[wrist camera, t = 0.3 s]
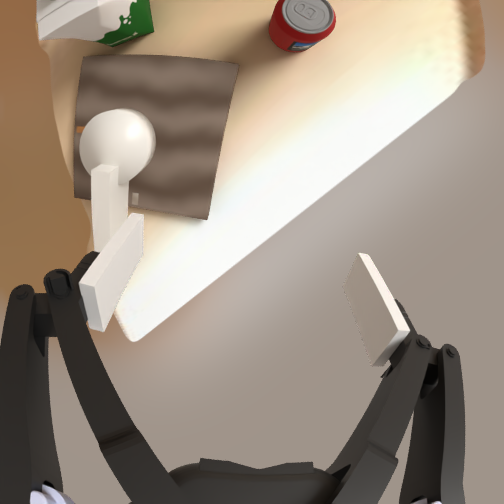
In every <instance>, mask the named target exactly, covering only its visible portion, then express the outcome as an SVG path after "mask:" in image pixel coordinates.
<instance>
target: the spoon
mask: <svg viewBox="0 0 504 504" xmlns="http://www.w3.org/2000/svg"><path fill="white" fill-rule="evenodd" d="M155 147H156V136H155V132H154V129H153V126H152V124H151V123H150V121H149V120H148V119H147V117H146V116H145V115H143V114H142V113H141V112H139V111H137V110H134V109H131V108H119V109H115V110H110V111H106V112H103V113H100V114H98V115H96V116H95V117H94V118H92V119H91V120H90V121H89V122H88V124H87V125H86V126H85V128H84V130H83V132H82V135H81V138H80V145H79V151H80V157H81V161H82V163H83V165H84V167H85V169H86V171H87V172H88V173H89V174H90V175H91V203H92V224H93V238H94V249H95V252H101V251H102V250H103V248H104V247H105V246H106V244H107V243H108V242H109V241H110V239H111V238H112V237H113V235H114V234H115V233H116V232H117V230H118V229H119V228H120V227H121V225H122V224H123V223H124V222H125V220H126V219H127V218H128V190H129V180H131V179H132V178H133V177H135V176H136V175H137V174H138V173H139V172H140V171H142V170H143V169H144V168H145V167H146V166H147V165H148V164H149V162H150V161H151V159H152V157H153V155H154V152H155Z"/></svg>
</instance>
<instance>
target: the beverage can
mask: <svg viewBox="0 0 504 504" xmlns="http://www.w3.org/2000/svg"><path fill="white" fill-rule="evenodd" d="M335 23H336V16H335V12H334V10H333V8H332V6H331V5H330V4H329V2H328V1H327V0H279V1H278V2H277V4H276V6H275V9H274V11H273V15H272V18H271V22H270V26H269V34H270V37H271V39H272V41H273V42H274V43H275V44H276V45H277V46H278V47H279V48H281V49H283V50H286V51H289V52H301V51H305V50H307V49H309V48H310V47H312V46H314V45H315V44H317V43H318V42H320V41H321V40H323V39H324V38H325V37H327V36H328V35H329V34H330V33H331V32H332V31H333V29H334V27H335Z"/></svg>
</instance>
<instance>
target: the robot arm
mask: <svg viewBox="0 0 504 504" xmlns="http://www.w3.org/2000/svg"><path fill="white" fill-rule="evenodd" d="M143 229H144V214H137V213H131V214H130V216H129V217H128V218H127V219H126V220H125V222H124V223H123V224H122V225H121V227H120V228H119V229H118V230H117V232H116V233H115V234H114V235H113V237H112V238H111V239H110V241H109V242H108V243H107V244H106V246H105V247H104V248H103V250H102V251H101V252H95V251H92V252H90V253H88V254H87V255H85V257H84V258H83V259H82V260H81V262H80V263H79V264H78V265H77V267H76V268H75V269H74V271H73V272H72V273H71V274H70V272H69V271H67V270H65V269H55V270H52V271H50V272H49V273H47V274H46V276H45V277H44V286H45V289H46V292H47V293H35V292H34V289H33V288H32V286H30V285H26V284H23V285H19V286H18V287H16V288H14V289H13V290H12V292H11V294H10V298H9V302H8V306H7V311H6V316H5V321H4V326H3V333H2V338H1V345H0V504H75V503H74V502H73V501H72V499H71V498H70V497H68V496H67V495H66V494H64V493H63V484H62V477H61V471H60V466H59V461H58V456H57V451H56V445H55V440H54V433H53V425H52V417H51V408H50V395H49V375H48V339H49V337H58V340H59V344H60V348H61V351H62V354H63V358H64V360H65V364H66V367H67V370H68V373H69V375H70V378H71V381H72V384H73V386H74V389H75V392H76V394H77V397H78V399H79V402H80V404H81V406H82V409H83V411H84V413H85V415H86V418H87V420H88V422H89V424H90V426H91V429H92V431H93V433H94V435H95V437H96V439H97V441H98V443H99V447H100V450H101V452H102V453H103V456H104V458H105V459H106V461H107V463H108V465H109V467H110V468H111V470H112V471H113V473H114V475H115V477H116V478H117V480H118V481H119V483H120V485H121V486H122V488H123V489H124V491H125V492H126V494H127V495H128V497H129V498H130V500H131V501H132V502H130V503H129V504H377V503H378V501H379V500H380V498H381V496H382V494H383V492H384V491H385V489H386V486H387V485H388V483H389V481H390V479H391V477H392V475H393V473H394V471H395V469H396V467H397V464H398V459H397V458H395V455H396V452H397V450H398V448H399V445H400V443H401V441H402V438H403V436H404V434H405V431H406V429H407V426H408V424H409V421H410V419H411V416H412V413H413V410H414V417H413V425H412V433H411V440H410V447H409V453H408V459H407V464H406V469H405V475H404V479H403V484H402V488H401V493H400V499H399V504H465V498H464V491H463V483H462V482H463V472H464V456H465V407H464V391H463V380H462V372H461V364H460V356H459V353H458V351H457V350H456V348H455V347H453V346H452V345H450V344H444V346H442V348H441V349H436V348H433V347H432V346H431V343H430V342H429V341H428V340H427V338H425V337H424V336H422V335H418V334H417V332H416V331H415V329H414V327H413V325H412V323H411V321H410V319H409V318H408V315H407V314H406V312H405V310H404V308H403V306H402V305H401V304H400V303H399V302H398V300H396V299H393V297H392V295H391V293H390V291H389V289H388V288H387V286H386V284H385V283H384V281H383V279H382V277H381V275H380V274H379V272H378V270H377V269H376V267H375V265H374V263H373V262H372V260H371V258H370V257H369V255H367V254H362V253H358V254H357V256H356V259H355V261H354V263H353V265H352V268H351V270H350V272H349V274H348V276H347V279H346V281H345V283H344V285H343V289H344V292H345V294H346V297H347V299H348V302H349V304H350V307H351V310H352V313H353V315H354V318H355V320H356V323H357V325H358V329H359V332H360V334H361V337H362V340H363V343H364V346H365V348H366V352H367V355H368V357H369V360H370V363H371V366H384V364H385V363H386V362H387V361H388V360H390V363H391V365H390V366H389V368H388V369H387V370H386V371H385V372H384V374H383V375H382V376H381V378H383V379H382V381H381V383H380V385H379V387H378V389H377V391H376V393H375V395H374V397H373V399H372V401H371V403H370V404H369V407H368V408H367V410H366V412H365V413H364V415H363V417H362V419H361V420H360V422H359V424H358V426H357V427H356V429H355V430H354V432H353V434H352V435H351V437H350V439H349V440H348V442H347V443H346V445H345V447H344V448H343V450H342V451H341V453H340V454H339V455H338V457H337V459H336V460H335V461H334V463H333V464H332V465H331V466H330V467H329V468H328V469H327V470H326V471H323V470H321V469H317V468H313V462H301V463H285V464H281V465H277V466H273V467H268V468H264V469H255V468H251V467H248V466H244V465H240V464H237V463H233V462H230V461H221V460H212V459H204V458H201V459H200V462H199V463H193V464H188V465H184V466H181V467H178V468H176V469H174V470H172V471H170V472H169V473H168V472H167V471H166V470H165V468H164V467H163V465H162V464H161V463H160V461H159V460H158V459H157V457H156V455H155V454H154V452H153V451H152V449H151V448H150V446H149V445H148V443H147V442H146V440H145V439H144V437H143V436H142V434H141V433H140V431H139V430H138V429H137V428H136V426H135V425H134V423H133V421H132V420H131V418H130V416H129V414H128V413H127V411H126V409H125V407H124V405H123V404H122V402H121V400H120V398H119V396H118V394H117V392H116V390H115V388H114V386H113V384H112V383H111V380H110V378H109V376H108V374H107V372H106V370H105V368H104V366H103V363H102V361H101V359H100V357H99V354H98V352H97V350H96V347H95V345H94V343H93V340H92V338H91V335H90V333H89V330H88V328H87V325H86V322H87V320H88V323H89V327H90V328H91V329H94V330H98V331H102V332H104V331H105V329H106V327H107V324H108V322H109V320H110V318H111V316H112V314H113V312H114V310H115V308H116V306H117V304H118V302H119V300H120V298H121V296H122V294H123V292H124V290H125V288H126V286H127V284H128V282H129V280H130V278H131V276H132V274H133V272H134V271H135V269H136V267H137V265H138V263H139V261H140V259H141V258H142V256H143Z"/></svg>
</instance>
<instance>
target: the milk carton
mask: <svg viewBox="0 0 504 504" xmlns="http://www.w3.org/2000/svg"><path fill="white" fill-rule="evenodd" d="M36 21H37V23H38V32H39V40H49V39H65V38H75V39H82V40H88V41H93V42H99V43H104V44H106V45H109V46H111V47H114V46H117V45H119V44H122V43H124V42H127V41H129V40H132V39H134V38H137V37H140V36H143V35H146V34H149V33H151V32H154V28H153V22H152V16H151V10H150V3H149V0H37V15H36Z"/></svg>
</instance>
